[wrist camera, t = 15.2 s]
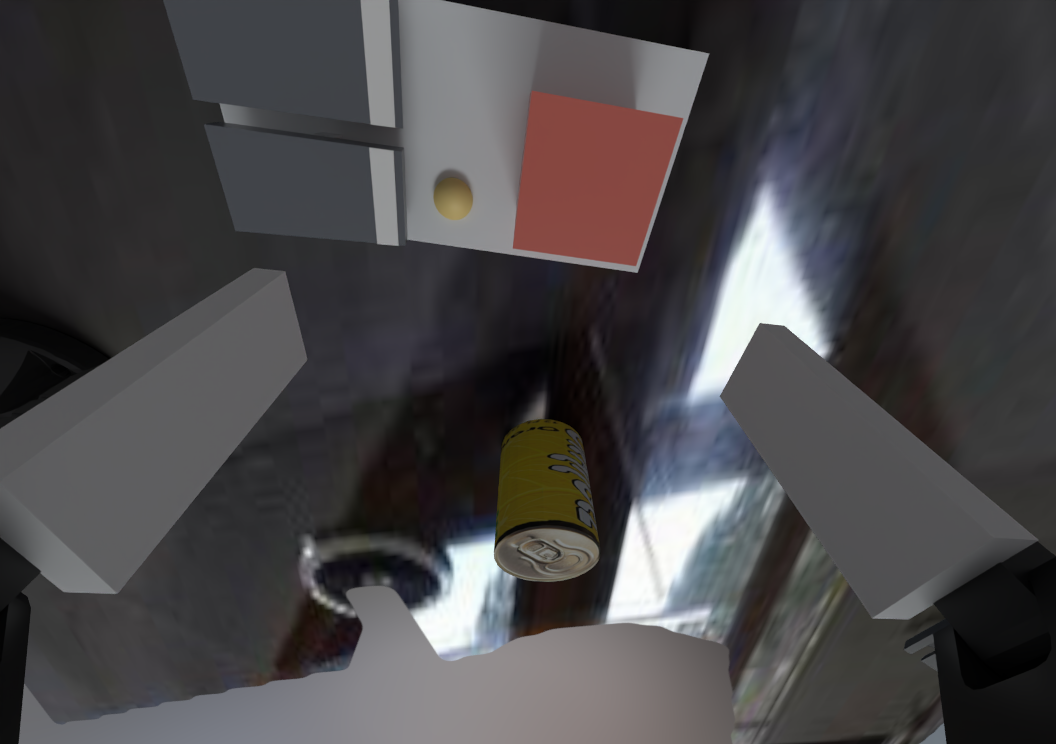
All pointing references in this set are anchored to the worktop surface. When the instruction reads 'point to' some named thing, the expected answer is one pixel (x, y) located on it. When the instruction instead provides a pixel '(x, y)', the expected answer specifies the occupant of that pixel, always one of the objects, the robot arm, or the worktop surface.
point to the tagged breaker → (310, 184)
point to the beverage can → (544, 504)
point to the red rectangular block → (590, 177)
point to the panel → (495, 111)
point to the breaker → (294, 56)
